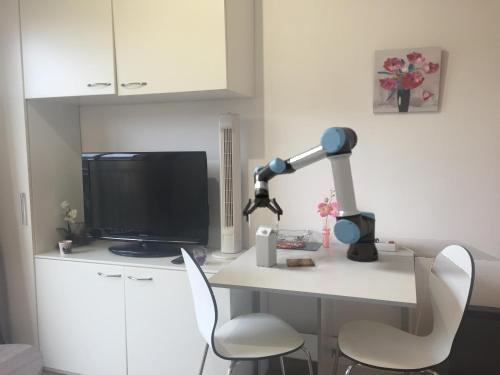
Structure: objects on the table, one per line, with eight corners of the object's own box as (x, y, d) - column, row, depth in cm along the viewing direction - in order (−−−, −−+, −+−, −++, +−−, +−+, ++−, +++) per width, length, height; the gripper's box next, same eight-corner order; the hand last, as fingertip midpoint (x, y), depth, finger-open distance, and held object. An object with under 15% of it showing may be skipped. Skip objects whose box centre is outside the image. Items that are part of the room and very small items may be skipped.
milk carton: (264, 261, 204) (263, 223, 202) (276, 263, 200) (276, 224, 198) (256, 265, 199) (255, 226, 197) (268, 267, 194) (267, 227, 192)
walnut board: (310, 260, 205) (310, 258, 205) (314, 266, 195) (314, 264, 195) (286, 261, 205) (286, 259, 204) (288, 267, 195) (288, 265, 195)
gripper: (285, 196, 222) (288, 229, 209) (237, 197, 222) (238, 231, 208) (285, 187, 216) (289, 221, 203) (237, 188, 216) (237, 222, 202)
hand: (263, 226), depth 205 cm, fingers open, 13 cm apart
